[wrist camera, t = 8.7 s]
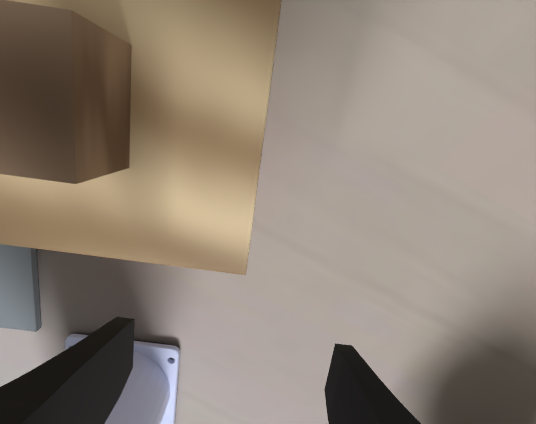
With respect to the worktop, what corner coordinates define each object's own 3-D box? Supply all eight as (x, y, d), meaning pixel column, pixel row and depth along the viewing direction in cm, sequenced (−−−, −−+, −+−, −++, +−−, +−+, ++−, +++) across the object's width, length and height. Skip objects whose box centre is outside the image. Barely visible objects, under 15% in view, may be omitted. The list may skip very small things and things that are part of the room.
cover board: (246, 267, 16) (237, 325, 12) (-32, 232, 16) (-157, 277, 11) (288, -53, 12) (299, -159, 8) (-75, -111, 12) (-291, -260, 7)
